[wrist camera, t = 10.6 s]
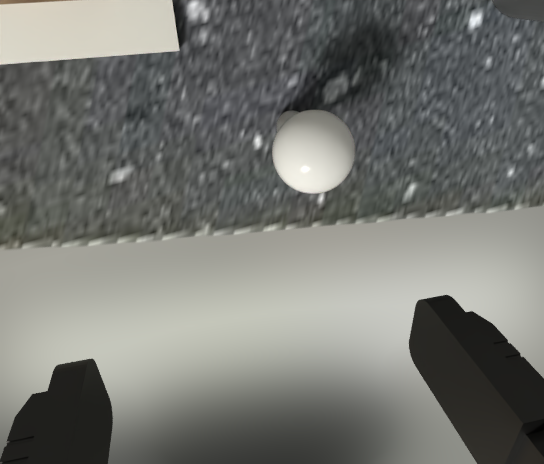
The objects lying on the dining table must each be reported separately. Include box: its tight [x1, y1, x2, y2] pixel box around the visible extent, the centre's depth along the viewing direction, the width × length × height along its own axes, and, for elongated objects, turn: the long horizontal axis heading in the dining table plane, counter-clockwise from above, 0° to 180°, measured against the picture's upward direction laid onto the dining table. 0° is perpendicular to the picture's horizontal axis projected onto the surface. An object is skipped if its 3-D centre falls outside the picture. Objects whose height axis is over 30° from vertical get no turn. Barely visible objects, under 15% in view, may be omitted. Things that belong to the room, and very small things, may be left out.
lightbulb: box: [272, 110, 355, 194], centre depth 34 cm, size 6×6×11 cm
